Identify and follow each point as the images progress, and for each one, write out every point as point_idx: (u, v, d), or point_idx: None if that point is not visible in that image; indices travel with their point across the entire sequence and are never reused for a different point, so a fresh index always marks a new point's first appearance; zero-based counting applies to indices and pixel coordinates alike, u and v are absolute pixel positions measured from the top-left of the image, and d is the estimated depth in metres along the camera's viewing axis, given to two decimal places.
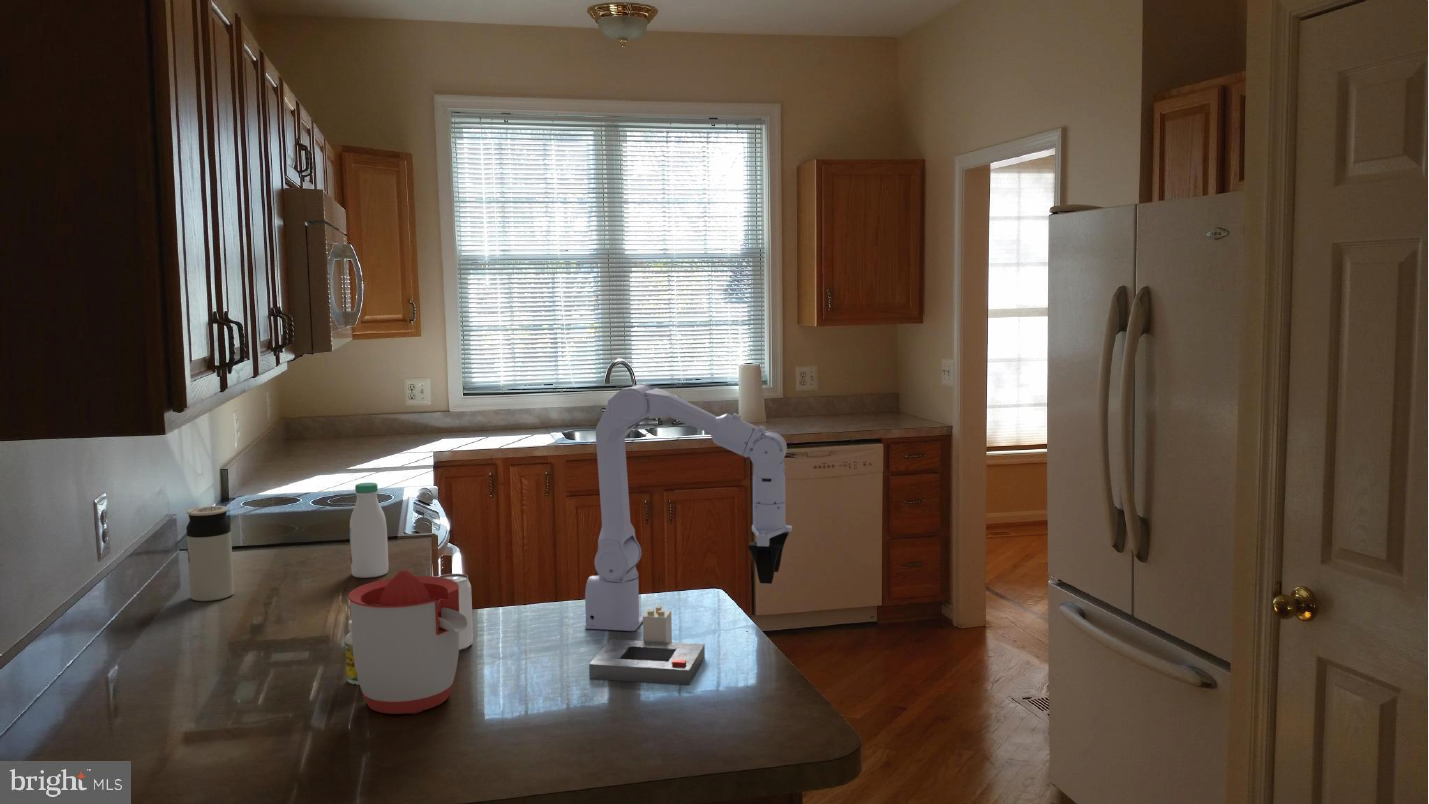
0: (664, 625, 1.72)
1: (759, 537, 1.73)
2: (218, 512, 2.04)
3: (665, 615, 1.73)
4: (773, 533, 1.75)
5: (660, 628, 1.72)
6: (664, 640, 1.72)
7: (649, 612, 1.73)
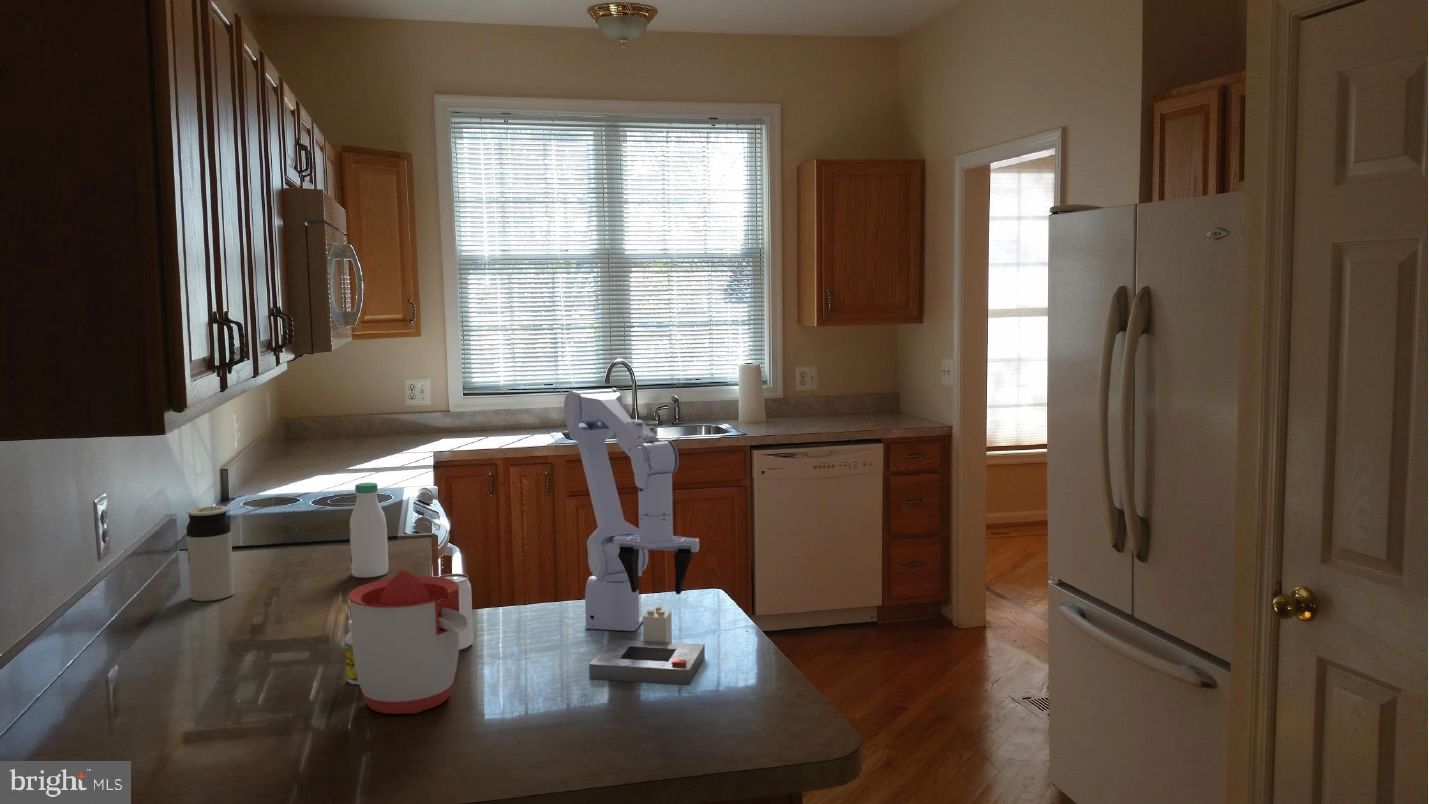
0: (664, 625, 1.72)
1: None
2: (218, 512, 2.04)
3: (665, 615, 1.73)
4: (626, 540, 1.72)
5: (661, 628, 1.72)
6: (664, 640, 1.72)
7: (649, 612, 1.73)
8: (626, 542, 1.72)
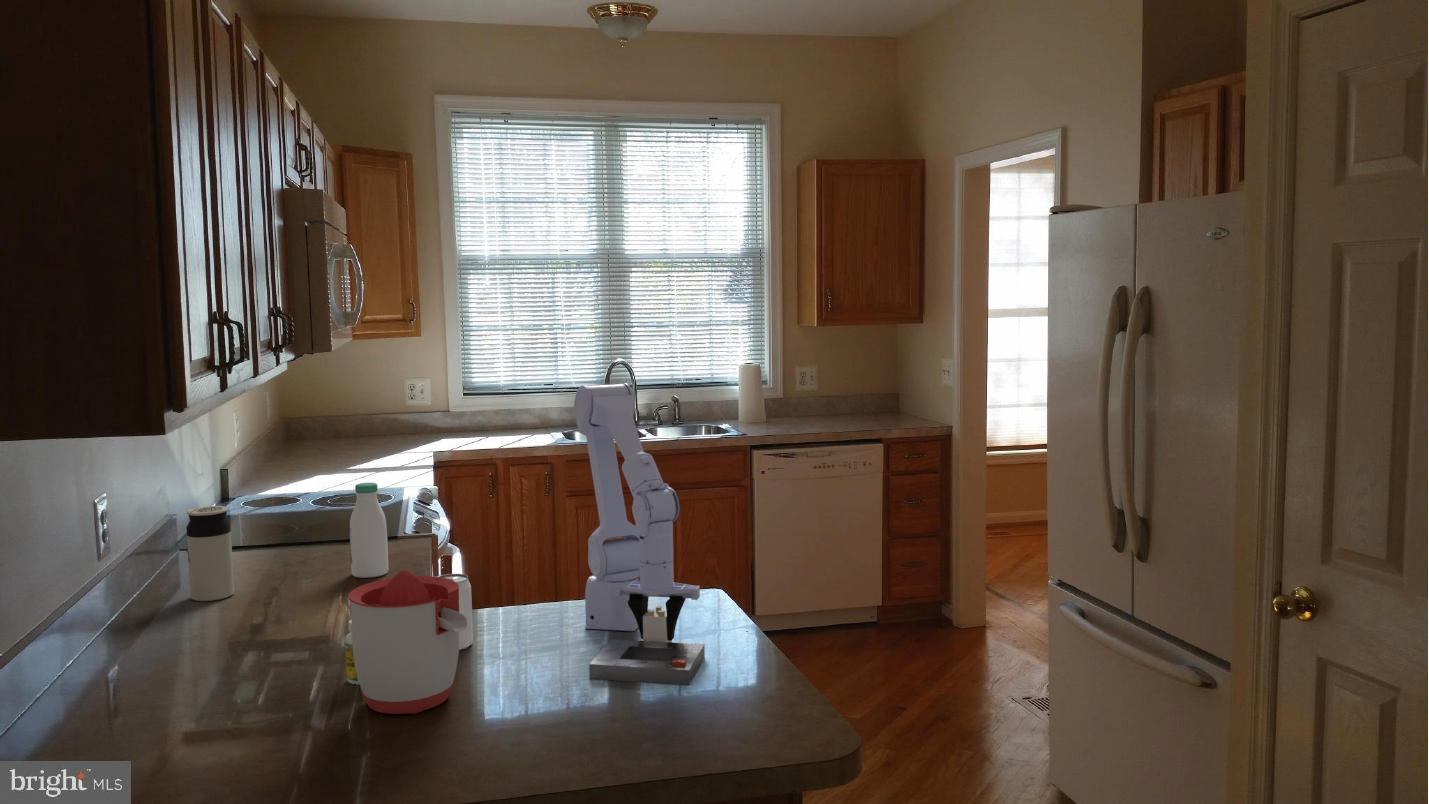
0: (664, 625, 1.72)
1: None
2: (218, 512, 2.04)
3: (665, 615, 1.73)
4: (627, 587, 1.73)
5: (661, 628, 1.72)
6: (664, 640, 1.72)
7: (649, 612, 1.73)
8: (627, 589, 1.73)
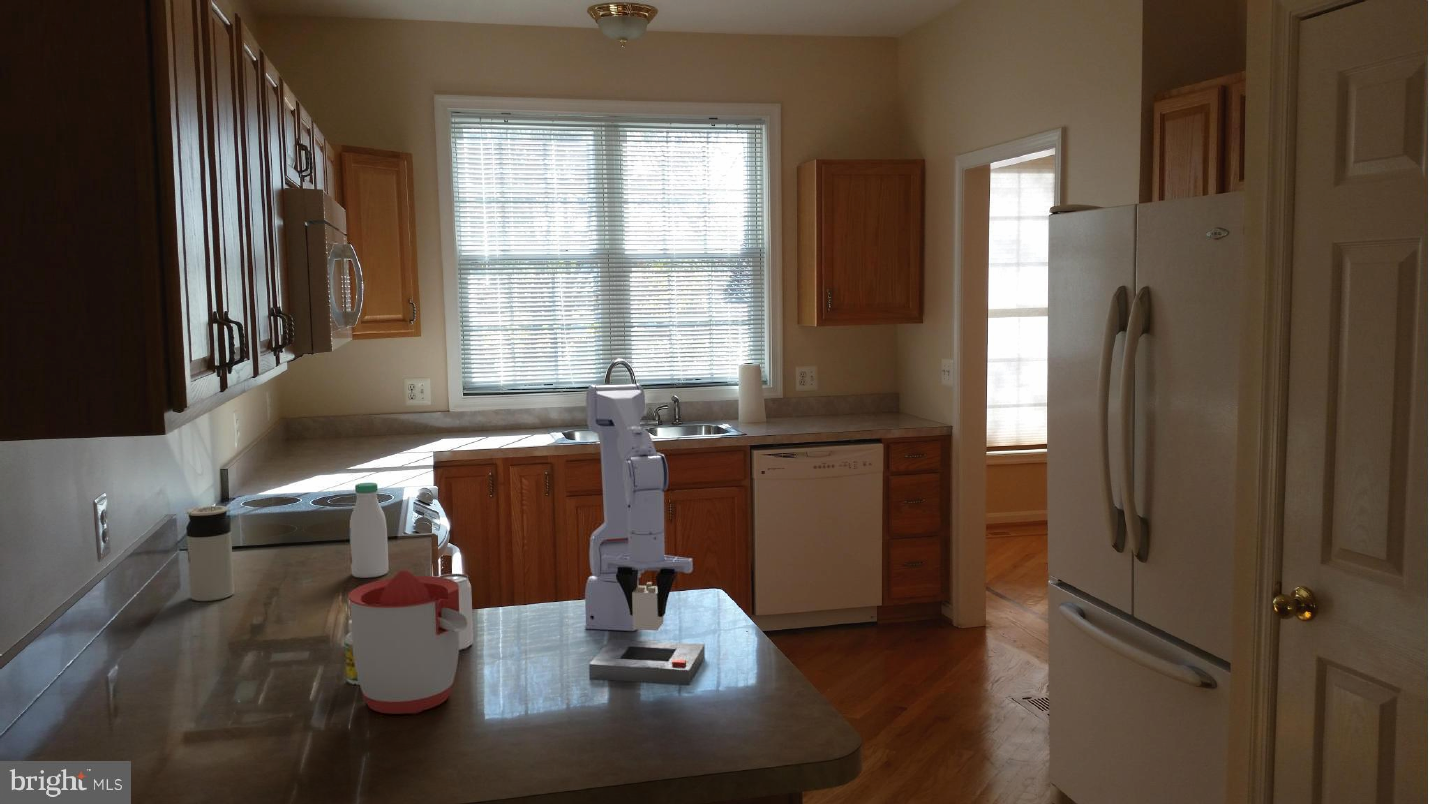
0: (655, 602, 1.61)
1: None
2: (218, 512, 2.04)
3: (656, 591, 1.62)
4: (615, 560, 1.62)
5: (651, 605, 1.61)
6: (655, 618, 1.61)
7: (639, 588, 1.62)
8: (615, 562, 1.62)
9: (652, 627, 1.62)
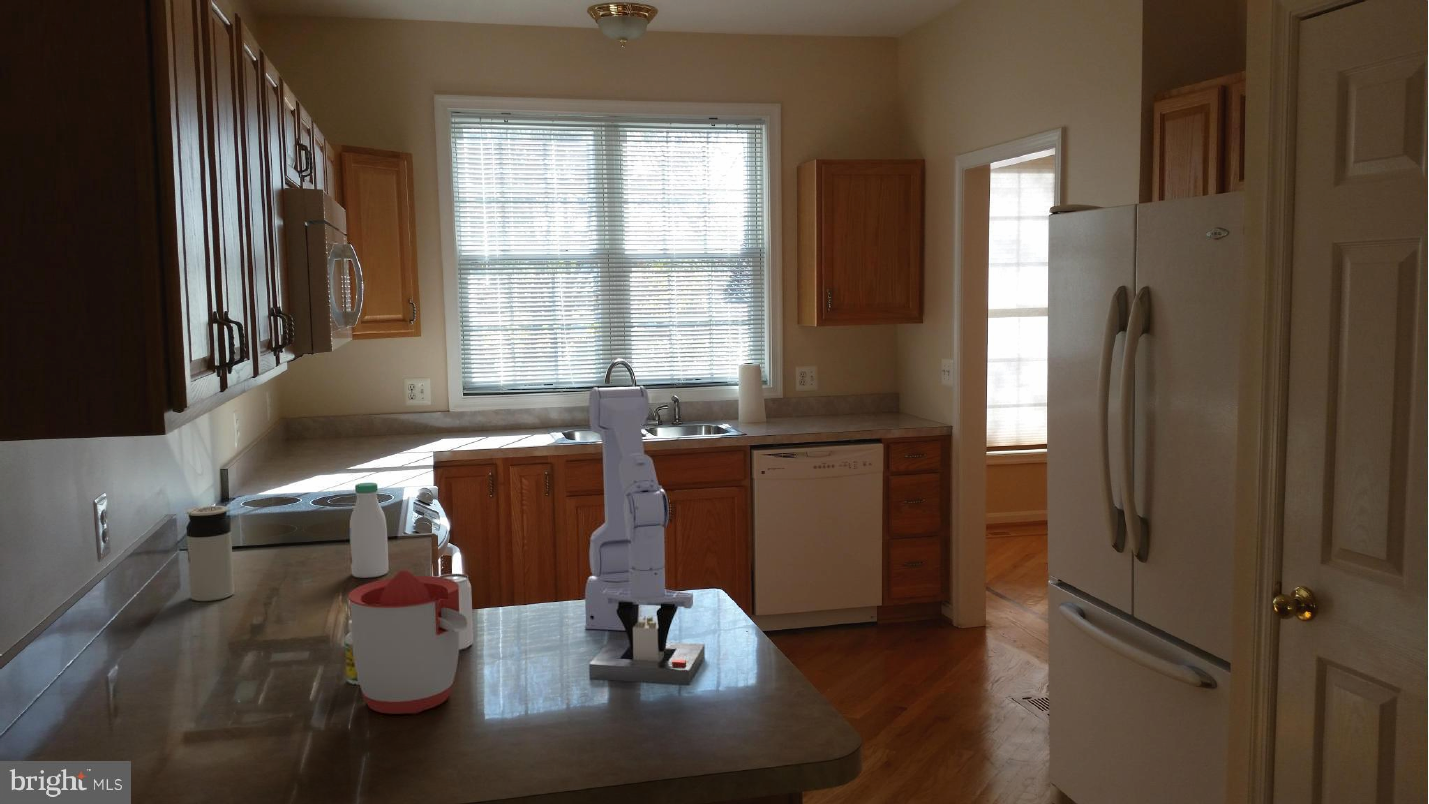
0: (655, 637, 1.62)
1: None
2: (218, 512, 2.04)
3: (656, 626, 1.63)
4: (615, 595, 1.63)
5: (652, 640, 1.62)
6: (655, 653, 1.62)
7: (640, 623, 1.63)
8: (616, 597, 1.63)
9: None
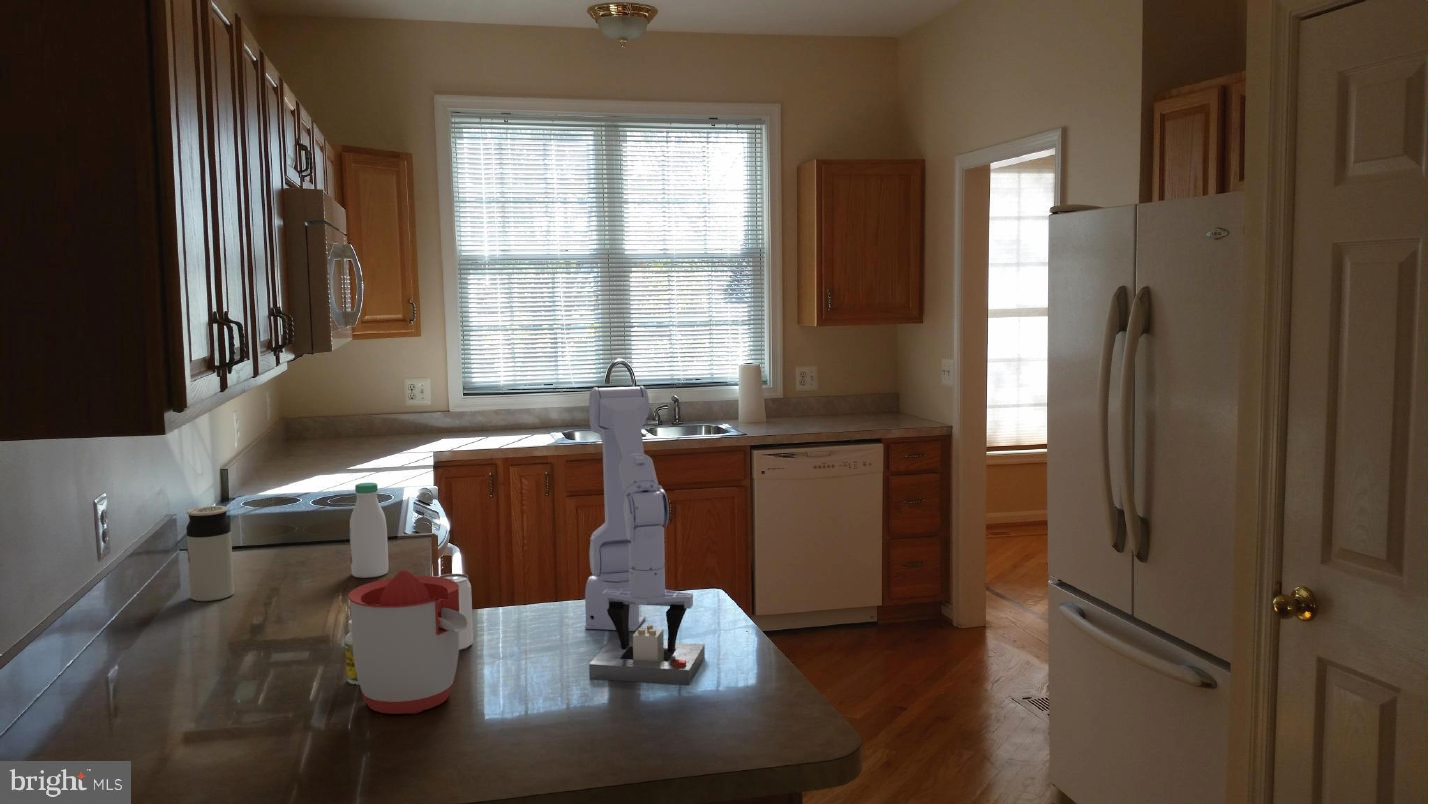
0: (655, 645, 1.62)
1: None
2: (218, 512, 2.04)
3: (657, 634, 1.63)
4: (615, 595, 1.63)
5: (652, 648, 1.62)
6: None
7: (640, 631, 1.63)
8: (616, 597, 1.63)
9: None
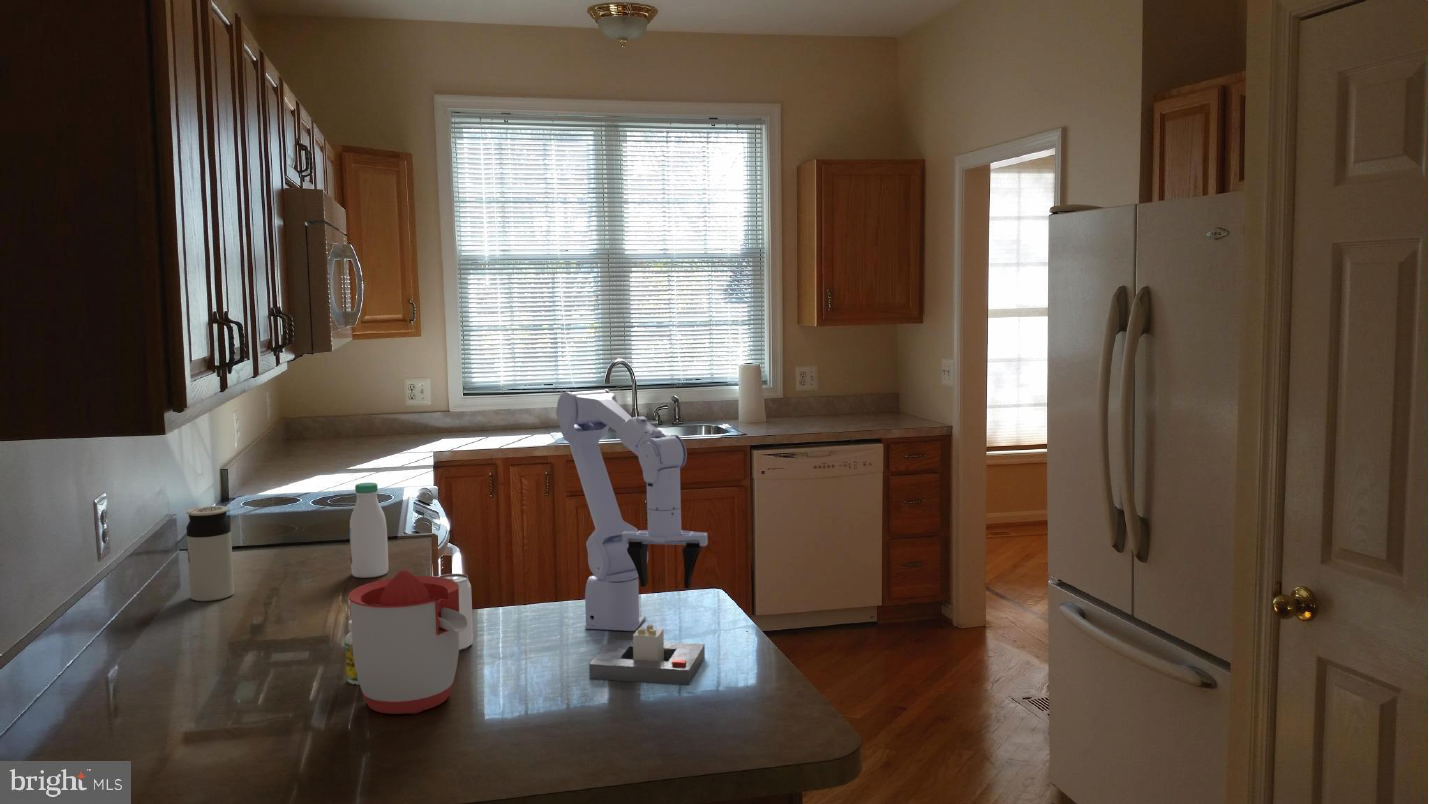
0: (655, 645, 1.62)
1: None
2: (218, 512, 2.04)
3: (657, 634, 1.63)
4: (635, 535, 1.73)
5: (652, 648, 1.62)
6: None
7: (640, 631, 1.63)
8: (635, 537, 1.73)
9: None
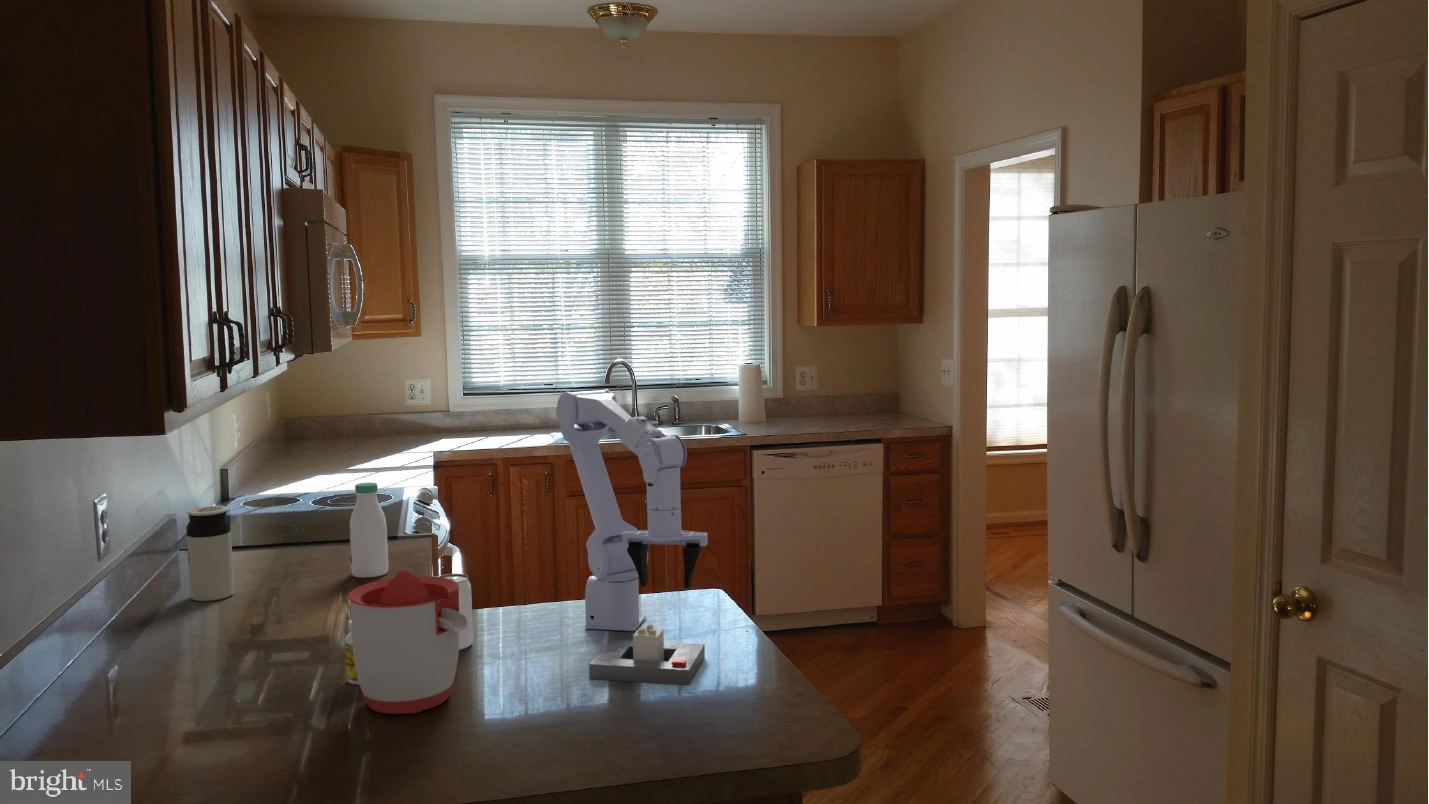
0: (655, 645, 1.62)
1: None
2: (218, 512, 2.04)
3: (657, 634, 1.63)
4: (635, 535, 1.73)
5: (652, 648, 1.62)
6: None
7: (640, 631, 1.63)
8: (635, 537, 1.73)
9: None
